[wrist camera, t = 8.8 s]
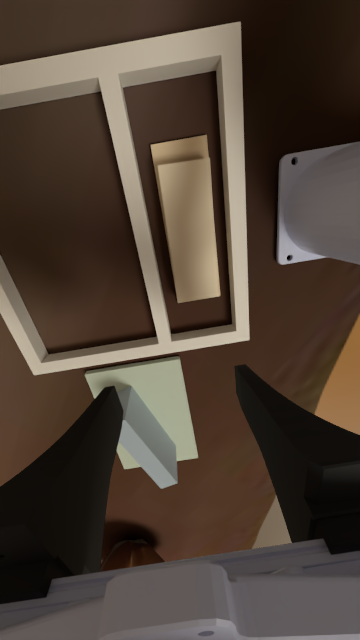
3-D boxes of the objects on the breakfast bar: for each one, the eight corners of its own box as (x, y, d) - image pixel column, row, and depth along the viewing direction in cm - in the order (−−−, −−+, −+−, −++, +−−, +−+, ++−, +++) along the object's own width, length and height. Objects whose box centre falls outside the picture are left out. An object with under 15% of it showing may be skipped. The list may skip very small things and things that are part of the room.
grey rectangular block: (131, 385, 24) (124, 419, 20) (176, 445, 28) (177, 483, 24) (115, 392, 24) (105, 427, 20) (162, 450, 28) (161, 488, 24)
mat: (179, 355, 23) (179, 359, 23) (197, 453, 30) (198, 457, 29) (86, 371, 23) (84, 374, 23) (125, 464, 30) (124, 469, 30)
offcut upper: (206, 162, 16) (209, 157, 15) (215, 292, 20) (218, 296, 19) (157, 169, 16) (157, 165, 15) (177, 298, 20) (177, 302, 19)
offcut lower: (203, 140, 17) (206, 134, 15) (217, 292, 22) (220, 295, 20) (151, 149, 17) (150, 144, 16) (177, 298, 22) (177, 303, 20)
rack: (233, 40, 14) (240, 21, 12) (244, 332, 23) (249, 340, 21) (-95, 100, 14) (-122, 87, 13) (42, 365, 23) (34, 375, 21)
